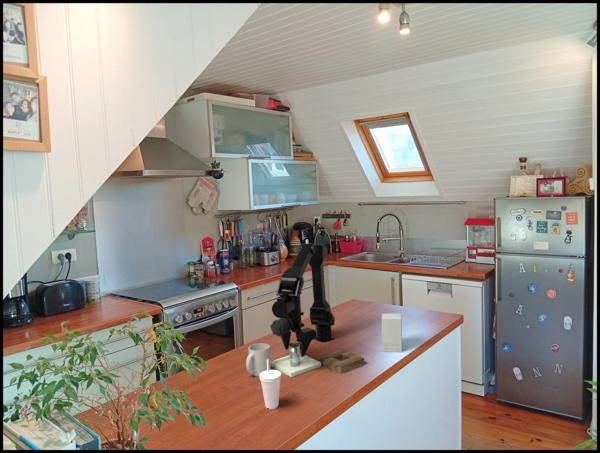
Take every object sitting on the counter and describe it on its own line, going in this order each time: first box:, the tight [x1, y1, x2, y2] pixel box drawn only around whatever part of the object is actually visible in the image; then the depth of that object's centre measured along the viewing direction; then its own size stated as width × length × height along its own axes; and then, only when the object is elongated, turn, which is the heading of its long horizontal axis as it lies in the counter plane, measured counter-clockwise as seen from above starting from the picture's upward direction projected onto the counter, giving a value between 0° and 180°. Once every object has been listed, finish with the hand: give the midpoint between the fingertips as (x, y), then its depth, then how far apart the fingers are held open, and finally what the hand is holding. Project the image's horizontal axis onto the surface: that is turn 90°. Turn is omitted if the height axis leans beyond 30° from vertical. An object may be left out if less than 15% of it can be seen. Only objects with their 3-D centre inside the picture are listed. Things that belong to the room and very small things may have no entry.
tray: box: [270, 352, 322, 378], centre depth 161 cm, size 13×13×2 cm
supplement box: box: [381, 313, 403, 353], centre depth 173 cm, size 7×7×13 cm
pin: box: [288, 341, 300, 367], centre depth 161 cm, size 3×3×8 cm
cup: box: [245, 342, 272, 377], centre depth 156 cm, size 7×10×9 cm
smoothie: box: [258, 359, 282, 410], centre depth 133 cm, size 6×6×14 cm
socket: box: [319, 348, 365, 375], centre depth 161 cm, size 11×11×2 cm
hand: (294, 353), depth 161 cm, fingers open, 9 cm apart
